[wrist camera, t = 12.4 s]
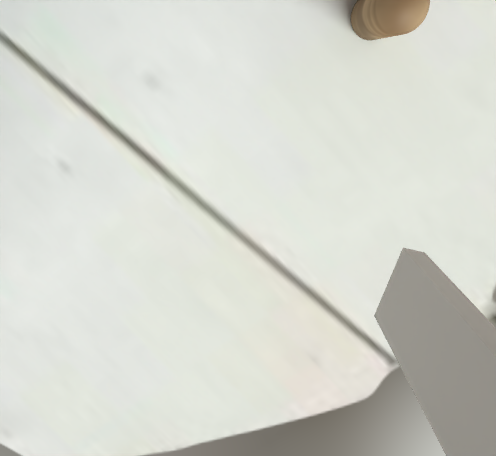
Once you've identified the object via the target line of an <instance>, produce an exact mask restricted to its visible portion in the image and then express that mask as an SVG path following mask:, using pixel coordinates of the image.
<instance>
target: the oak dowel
mask: <svg viewBox="0 0 496 456" xmlns="http://www.w3.org/2000/svg"><path fill="white" fill-rule="evenodd" d="M429 5H430V0H358V1H357V2H356V4H355V6H354V8H353V10H352V14H351V24H352V27H353V30H354V32H355V33H356V34H357V35H358V36H359V37H360V38H362V39H365V40H376V39H381V38H386V37H392V36H397V35H402V34H407V33H409V32H411V31H413V30H415V29H416V28H417V27H418V26H419V25H420V24H421V23H422V22H423V21H424V19H425V17H426V15H427V13H428V10H429Z"/></svg>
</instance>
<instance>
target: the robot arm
mask: <svg viewBox="0 0 496 456" xmlns="http://www.w3.org/2000/svg"><path fill="white" fill-rule="evenodd" d="M374 316H375V318H376V320H377V322H378V324H379V326H380V328H381V330H382V332H383V334H384V336H385V338H386V340H387V341H388V343H389V345H390V347H391V349H392V351H393V353H394V355H395V357H396V359H397V361H398V363H399V365H400V367H401V369H402V371H403V372H404V374H405V376H406V378H407V380H408V382H409V384H410V386H411V388H412V390H413V392H414V394H415V396H416V398H417V400H418V402H419V404H420V405H421V408H422V409H423V411H424V413H425V415H426V417H427V419H428V421H429V423H430V425H431V427H432V429H433V431H434V433H435V435H436V437H437V439H438V441H439V443H440V444H441V446H442V448H443V450H444V452H445V454H446V456H496V328H495V327H494V326H493V325H492V324H491V322H490V321H489V320H488V319H487V318H486V317H485V316H484V315H483V314H482V313H481V312H480V311H479V310H478V309H477V308H476V307H475V306H474V304H473V303H472V302H471V301H470V300H469V299H468V298H467V297H466V296H465V295H464V294H463V293H462V292H461V291H460V290H459V289H458V288H457V286H456V285H455V284H454V283H453V282H452V281H451V280H450V279H449V278H448V277H447V276H446V275H445V274H444V273H443V272H442V271H441V270H440V268H439V267H438V266H437V265H436V264H435V263H434V262H433V261H432V260H431V259H430V258H429V257H428V256H427V255H426V254H425V253H424V252H420V251H415V250H411V249H406V248H403V249H402V251H401V254H400V256H399V259H398V261H397V263H396V266H395V268H394V270H393V273H392V275H391V277H390V280H389V282H388V284H387V287H386V289H385V292H384V294H383V296H382V299H381V301H380V303H379V306H378V308H377V310H376V313H375V315H374Z"/></svg>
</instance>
